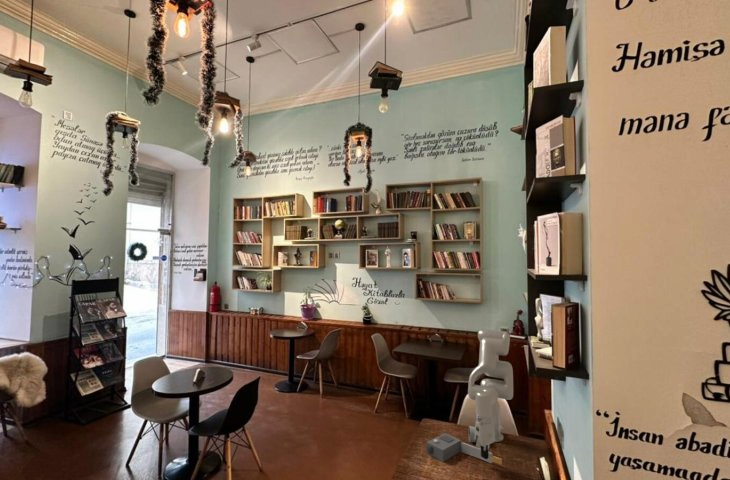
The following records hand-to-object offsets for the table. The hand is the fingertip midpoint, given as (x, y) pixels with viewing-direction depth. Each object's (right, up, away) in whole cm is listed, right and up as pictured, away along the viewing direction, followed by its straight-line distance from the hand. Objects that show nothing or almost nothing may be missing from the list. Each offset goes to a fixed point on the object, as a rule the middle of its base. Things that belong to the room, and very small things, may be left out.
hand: (484, 457), depth 160 cm
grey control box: (-17, -4, +11) cm, 21 cm away
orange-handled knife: (0, -4, +5) cm, 6 cm away
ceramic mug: (+4, -7, +24) cm, 25 cm away
